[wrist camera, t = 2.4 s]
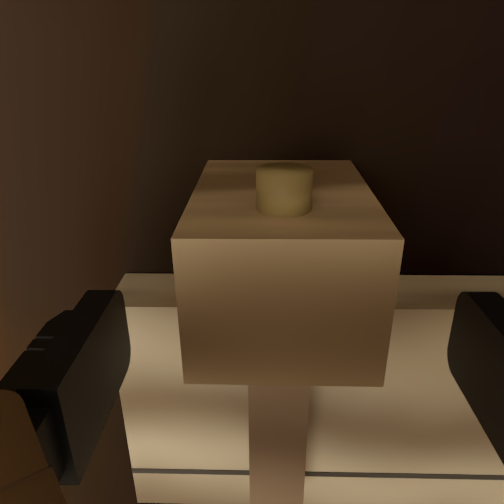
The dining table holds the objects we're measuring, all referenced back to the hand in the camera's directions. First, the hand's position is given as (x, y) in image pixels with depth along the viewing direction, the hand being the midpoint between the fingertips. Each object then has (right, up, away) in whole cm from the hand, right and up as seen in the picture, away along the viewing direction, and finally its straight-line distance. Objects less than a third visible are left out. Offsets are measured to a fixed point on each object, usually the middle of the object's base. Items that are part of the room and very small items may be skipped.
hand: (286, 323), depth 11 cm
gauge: (0, 0, +7) cm, 8 cm away
